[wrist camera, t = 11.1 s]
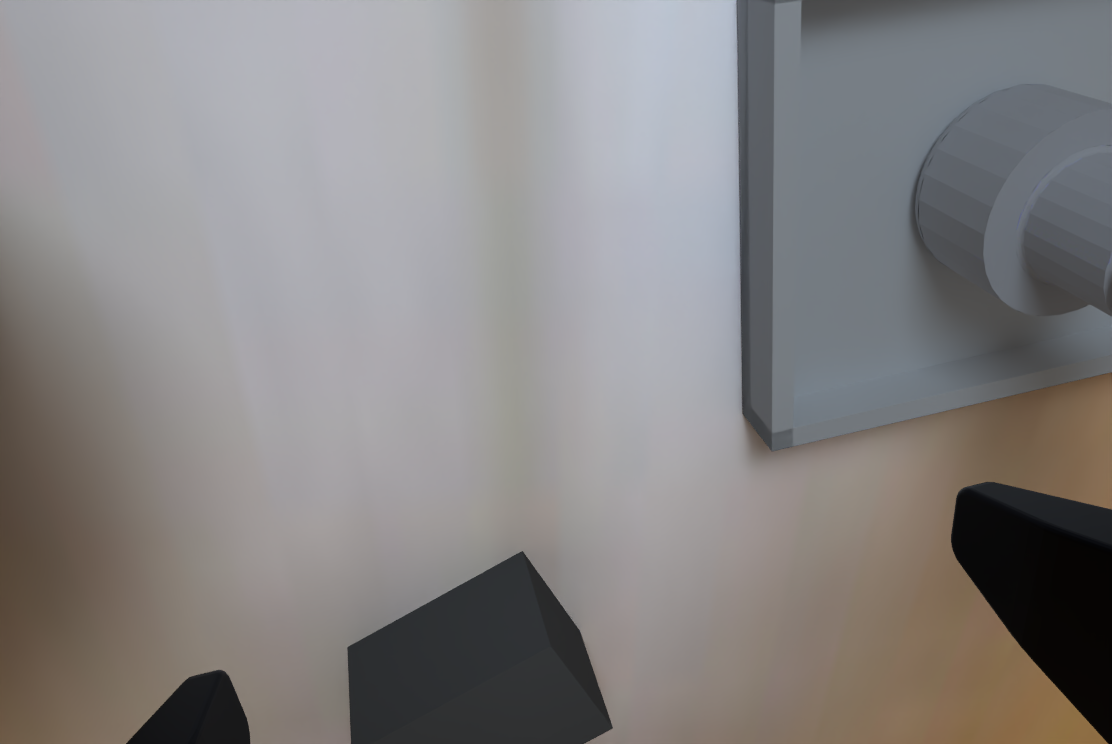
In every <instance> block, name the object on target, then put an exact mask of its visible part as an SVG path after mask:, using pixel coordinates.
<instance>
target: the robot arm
mask: <svg viewBox="0 0 1112 744" xmlns="http://www.w3.org/2000/svg"><path fill="white" fill-rule="evenodd" d="M951 543H952V548H953V552H954V554H955V556H956V559H957V560H958V562H959V563H960V565H961V566H962V567H963V569H964V570H965V572H966V573H967V574H968V576H969V577H970V578H971V580H972V581H973V583H974V584H975V585H976V587H977V588H978V589H979V591H980V592H981V594H982V595H983V596H984V598H985V599H986V600H987V602H988V603H989V605H990V606H991V607H992V609H993V610H994V611H995V613H996V614H997V615H998V617H999V618H1000V620H1001V621H1002V622H1003V624H1004V625H1005V626H1006V628H1007V629H1008V631H1009V632H1010V633H1011V635H1012V636H1013V637H1014V638H1015V640H1016V641H1017V642H1018V643H1019V645H1020V646H1021V647H1022V648H1023V650H1024V651H1025V652H1026V653H1027V654H1028V655H1029V657H1030V658H1031V659H1032V660H1033V661H1034V662H1035V663H1036V665H1037V666H1038V667H1039V668H1040V669H1041V670H1042V671H1043V672H1044V673H1045V674H1046V676H1047V677H1048V678H1049V679H1050V680H1051V681H1052V682H1053V683H1054V684H1055V685H1056V687H1057V688H1058V689H1059V690H1060V691H1061V692H1062V693H1063V694H1064V695H1065V696H1066V698H1067V699H1068V700H1069V701H1070V702H1071V703H1072V704H1073V705H1074V706H1075V707H1076V709H1077V710H1078V711H1079V712H1080V713H1081V714H1082V715H1083V716H1084V717H1085V718H1086V720H1087V721H1088V722H1089V723H1090V724H1091V725H1092V726H1093V727H1094V728H1095V729H1096V731H1097V732H1098V733H1099V734H1100V735H1101V736H1102V737H1103V738H1104V739H1105V741H1106V742H1107V743H1108V744H1112V510H1111V509H1107V508H1103V507H1098V506H1094V505H1090V504H1085V503H1081V502H1077V501H1073V500H1068V499H1064V498H1060V497H1055V496H1051V495H1047V494H1042V493H1038V492H1034V491H1029V490H1025V489H1021V488H1017V487H1012V486H1008V485H1004V484H999V483H995V482H985V483H981V484H977V485H972V486H968V487H965V488H963V489H961V490H960V491H959V493H958V495H957V498H956V505H955V512H954V519H953V527H952V534H951ZM126 744H250V732H249V726H248V722H247V718H246V715H245V713H244V711H243V708H242V706H241V703H240V701H239V699H238V696H237V694H236V692H235V689H234V687H233V684H232V682H231V680H230V678H229V676H228V674H227V673H226V672H225V671H222V670H216V671H212V672H208V673H204V674H200V675H196V676H192V677H189V678H188V679H187V680H185V681H184V682H183V683H182V684H181V685H180V686H179V688H178V689H177V690H176V691H175V692H174V693H173V694H172V695H171V696H170V697H169V698H168V699H167V700H166V701H165V702H164V704H163V705H162V706H161V707H160V708H159V709H158V710H157V711H156V712H155V713H154V714H153V715H152V716H151V717H150V719H149V720H148V721H147V722H146V723H145V724H144V725H143V726H142V727H141V728H140V729H139V730H138V731H137V732H136V734H135V735H134V736H133V737H132V738H131V739H130V740H129V741H128V742H127V743H126Z"/></svg>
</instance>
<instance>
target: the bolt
mask: <svg viewBox="0 0 1112 744" xmlns="http://www.w3.org/2000/svg"><path fill="white" fill-rule="evenodd" d="M915 214H916V222H917V226H918V230H919V233H920V236H921V238H922V240H923V242H924V244H925V246H926V248H927V249H928V250H929V252H930V253H931V254H932V255H933V256H934V257H935V258H936V259H937V260H938V261H939V262H940V263H942V264H943V265H945V266H947V267H948V268H950V269H951V270H953V271H955V272H956V273H958V274H959V275H961V276H963V277H964V278H966V279H967V280H969V281H971V282H972V283H974V284H975V285H977V286H978V287H980V288H982V289H983V290H985V291H986V292H988V293H990V294H991V295H993V296H994V297H996V298H998V299H999V300H1001V301H1002V302H1004V303H1006V304H1007V305H1009V306H1010V307H1011V308H1013V309H1015V310H1017V311H1019V312H1023V313H1025V314H1028V315H1036V316H1053V315H1062V314H1065V313H1069V312H1072V311H1076V310H1079V309H1081V308H1084V307H1086V306H1088V305H1092V306H1094V307H1095V308H1097V309H1099V310H1101V311H1103V312H1104V313H1106V314H1108V315H1110V316H1112V104H1111V103H1108V102H1104V101H1101V100H1098V99H1094V98H1091V97H1087V96H1084V95H1080V94H1077V93H1074V92H1070V91H1067V90H1063V89H1060V88H1057V87H1053V86H1050V85H1046V84H1020V85H1016V86H1013V87H1009V88H1006V89H1002V90H999V91H995V92H993V93H991V94H990V95H988V96H986V97H984V98H982V99H981V100H979V101H977V102H975V103H973V104H972V105H971V106H970V107H969V108H967V109H966V110H965V111H964V112H963V113H961V114H960V115H959V116H958V117H957V118H955V119H954V121H953V122H952V123H951V124H950V125H949V127H948V128H947V129H946V130H945V131H944V132H943V134H942V135H941V136H940V137H939V139H938V140H937V142H936V144H935V145H934V147H933V149H932V150H931V152H930V154H929V155H928V157H927V160H926V162H925V164H924V167H923V169H922V172H921V175H920V178H919V181H918V186H917V192H916V201H915Z"/></svg>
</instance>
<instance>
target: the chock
mask: <svg viewBox="0 0 1112 744" xmlns="http://www.w3.org/2000/svg"><path fill="white" fill-rule="evenodd" d="M348 671H349V698H350V725H351V744H584V743H586V742H588V741H590V740H592V739H594V738H596V737H597V736H599V735H601V734H603V733H605V732H607V731H609V730H610V729H612V728H613V727H612V724H611V721H610V718H609V715H608V712H607V709H606V706H605V703H604V700H603V698H602V695H601V692H600V689H599V686H598V683H597V680H596V677H595V674H594V671H593V668H592V665H591V662H590V659H589V656H588V654H587V651H586V648H585V645H584V642H583V639H582V636H581V633H580V630H579V629H578V628H577V626H576V625H575V624H574V622H573V621H572V619H571V618H570V617H569V615H568V614H567V612H566V611H565V610H564V608H563V607H562V605H561V604H560V603H559V601H558V600H557V598H556V597H555V596H554V594H553V593H552V591H551V590H550V589H549V587H548V586H547V585H546V583H545V582H544V580H543V579H542V578H541V576H540V575H539V573H538V572H537V571H536V569H535V568H534V566H533V565H532V564H531V562H530V561H529V559H528V558H527V557H526V555H525V554H524V552H523V551H522V552H520V553H518V554H516V555H514V556H512V557H511V558H509V559H507V560H505V561H503V562H502V563H500V564H498V565H496V566H494V567H492V568H491V569H489V570H487V571H485V572H483V573H482V574H480V575H478V576H476V577H474V578H472V579H471V580H469V581H467V582H465V583H463V584H462V585H460V586H458V587H456V588H454V589H452V590H451V591H449V592H447V593H445V594H443V595H442V596H440V597H438V598H436V599H434V600H432V601H431V602H429V603H427V604H425V605H423V606H422V607H420V608H418V609H416V610H414V611H412V612H411V613H409V614H407V615H405V616H403V617H402V618H400V619H398V620H396V621H394V622H393V623H391V624H389V625H387V626H385V627H383V628H382V629H380V630H378V631H376V632H374V633H373V634H371V635H369V636H367V637H365V638H363V639H362V640H360V641H358V642H356V643H354V644H353V645H351V646H349V647H348Z"/></svg>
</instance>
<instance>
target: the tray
mask: <svg viewBox="0 0 1112 744" xmlns="http://www.w3.org/2000/svg"><path fill="white" fill-rule="evenodd" d="M737 17H738V93H739V168H740V244H741V319H742V395H743V415H744V416H745V417H746V419H747V420H748V421H749V422H750V424H751V425H752V426H753V428H754V429H755V430H756V431H757V433H758V434H759V435H760V437H761V438H762V439H763V441H764V442H765V443H766V444H767V446H768V447H769V448H770V450H771V451H776V450H780V449H784V448H789V447H793V446H797V445H802V444H806V443H810V442H814V441H819V440H823V439H827V438H832V437H836V436H840V435H844V434H849V433H853V432H857V431H862V430H866V429H870V428H874V427H879V426H883V425H887V424H892V423H896V422H900V421H905V420H909V419H913V418H917V417H922V416H926V415H930V414H935V413H939V412H943V411H947V410H952V409H956V408H960V407H965V406H969V405H973V404H977V403H982V402H986V401H990V400H995V399H999V398H1003V397H1008V396H1012V395H1016V394H1020V393H1025V392H1029V391H1033V390H1038V389H1042V388H1046V387H1050V386H1055V385H1059V384H1063V383H1068V382H1072V381H1076V380H1080V379H1085V378H1089V377H1093V376H1098V375H1102V374H1106V373H1111V372H1112V316H1110V315H1108V314H1106V313H1104V312H1103V311H1101V310H1099V309H1097V308H1095V307H1094V306H1092V305H1088V306H1086V307H1084V308H1081V309H1079V310H1076V311H1072V312H1069V313H1065V314H1062V315H1053V316H1036V315H1028V314H1025V313H1023V312H1019V311H1017V310H1015V309H1013V308H1011V307H1010V306H1009V305H1007V304H1006V303H1004V302H1002V301H1001V300H999V299H998V298H996V297H994V296H993V295H991V294H990V293H988V292H986V291H985V290H983V289H982V288H980V287H978V286H977V285H975V284H974V283H972V282H971V281H969V280H967V279H966V278H964V277H963V276H961V275H959V274H958V273H956V272H955V271H953V270H951V269H950V268H948V267H947V266H945V265H943V264H942V263H940V262H939V261H938V260H937V259H936V258H935V257H934V256H933V255H932V254H931V253H930V252H929V250H928V249H927V248H926V246H925V244H924V242H923V240H922V238H921V236H920V233H919V230H918V226H917V222H916V214H915V201H916V192H917V186H918V181H919V178H920V175H921V172H922V169H923V167H924V164H925V162H926V160H927V157H928V155H929V154H930V152H931V150H932V149H933V147H934V145H935V144H936V142H937V140H938V139H939V137H940V136H941V135H942V134H943V132H944V131H945V130H946V129H947V128H948V127H949V125H950V124H951V123H952V122H953V121H954V119H955V118H957V117H958V116H959V115H960V114H961V113H963V112H964V111H965V110H966V109H967V108H969V107H970V106H971V105H972V104H973V103H975V102H977V101H979V100H981V99H982V98H984V97H986V96H988V95H990V94H991V93H993V92H995V91H999V90H1002V89H1006V88H1009V87H1013V86H1016V85H1020V84H1046V85H1050V86H1053V87H1057V88H1060V89H1063V90H1067V91H1070V92H1074V93H1077V94H1080V95H1084V96H1087V97H1091V98H1094V99H1098V100H1101V101H1104V102H1108V103H1111V104H1112V0H737Z"/></svg>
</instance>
